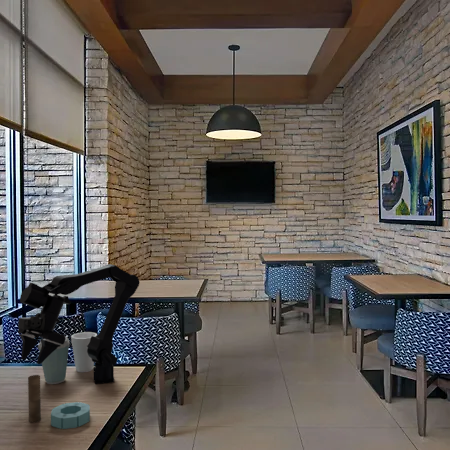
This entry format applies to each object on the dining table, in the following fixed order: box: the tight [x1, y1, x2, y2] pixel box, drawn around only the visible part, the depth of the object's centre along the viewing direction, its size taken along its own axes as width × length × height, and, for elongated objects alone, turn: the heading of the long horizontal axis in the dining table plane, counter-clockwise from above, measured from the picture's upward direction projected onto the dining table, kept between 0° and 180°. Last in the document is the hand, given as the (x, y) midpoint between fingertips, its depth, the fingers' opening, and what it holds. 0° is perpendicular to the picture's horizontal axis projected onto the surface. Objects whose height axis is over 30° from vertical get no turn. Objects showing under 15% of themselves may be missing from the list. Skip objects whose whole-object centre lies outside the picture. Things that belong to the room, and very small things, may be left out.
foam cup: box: [70, 331, 98, 373], centre depth 178 cm, size 10×9×13 cm
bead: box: [50, 401, 91, 430], centre depth 135 cm, size 10×10×3 cm
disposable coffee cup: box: [37, 336, 70, 385], centre depth 166 cm, size 11×11×15 cm
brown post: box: [27, 374, 42, 423], centre depth 135 cm, size 3×3×12 cm
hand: (30, 361), depth 146 cm, fingers open, 9 cm apart
